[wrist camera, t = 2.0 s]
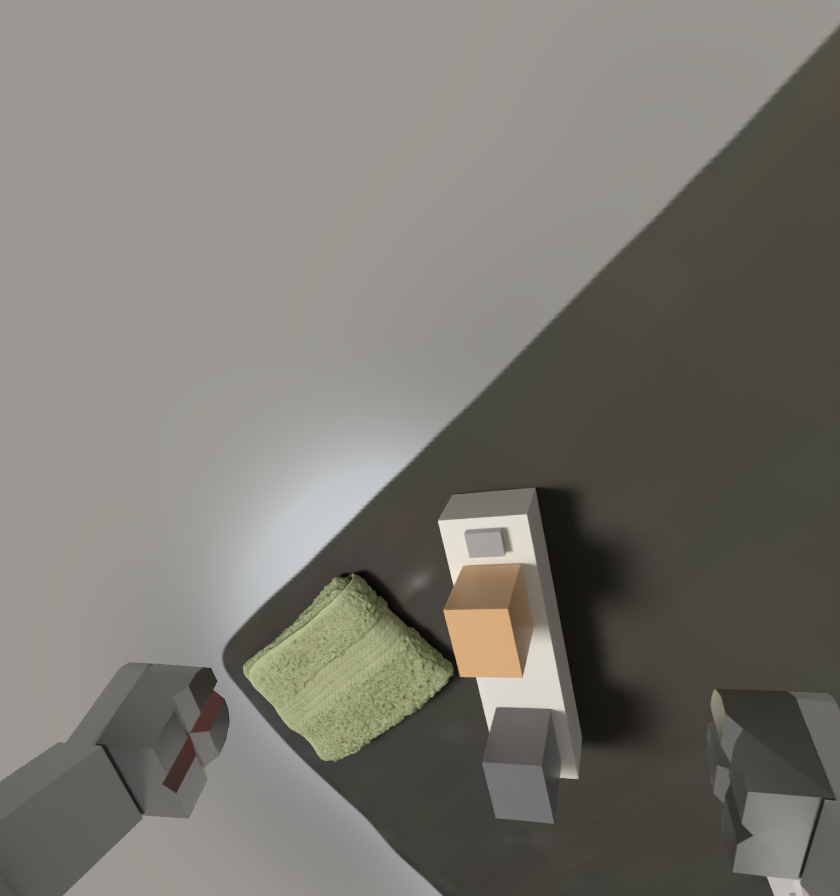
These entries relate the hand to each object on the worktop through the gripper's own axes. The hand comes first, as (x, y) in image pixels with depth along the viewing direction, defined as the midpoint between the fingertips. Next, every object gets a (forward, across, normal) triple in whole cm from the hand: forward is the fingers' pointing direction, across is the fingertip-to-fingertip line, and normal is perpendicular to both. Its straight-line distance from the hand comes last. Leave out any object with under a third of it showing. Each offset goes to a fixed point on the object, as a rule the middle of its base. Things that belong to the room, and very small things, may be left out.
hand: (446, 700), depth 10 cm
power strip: (+29, -1, -27) cm, 40 cm away
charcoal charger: (+26, 0, -34) cm, 43 cm away
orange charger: (+28, -2, -22) cm, 36 cm away
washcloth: (+31, -16, -34) cm, 49 cm away
